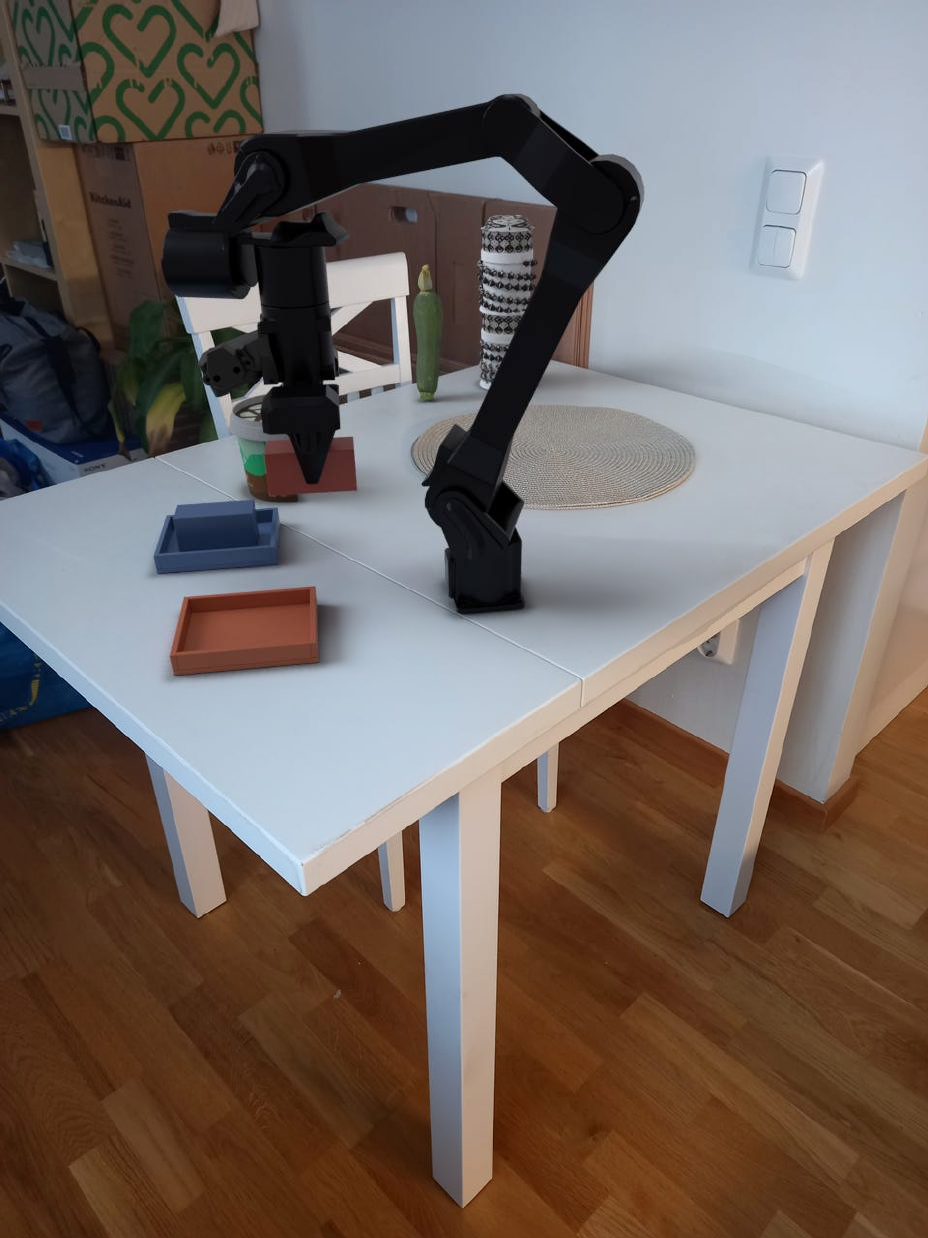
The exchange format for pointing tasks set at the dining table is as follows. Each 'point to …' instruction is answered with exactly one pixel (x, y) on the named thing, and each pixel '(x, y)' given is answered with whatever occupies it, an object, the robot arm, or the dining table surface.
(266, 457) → the red bar
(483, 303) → the decorative candle
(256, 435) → the food container
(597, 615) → the dining table surface
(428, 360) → the vegetable
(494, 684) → the dining table surface
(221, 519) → the blue bar
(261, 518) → the blue tray
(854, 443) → the dining table surface
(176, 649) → the orange tray
